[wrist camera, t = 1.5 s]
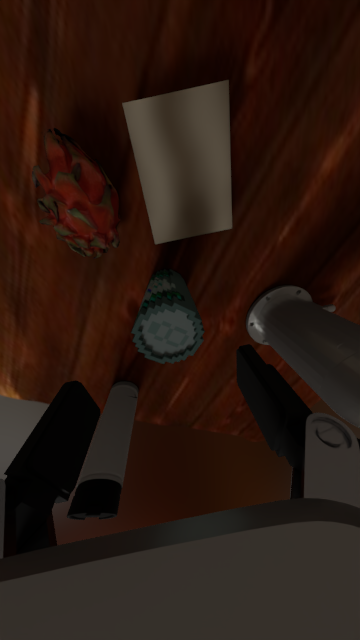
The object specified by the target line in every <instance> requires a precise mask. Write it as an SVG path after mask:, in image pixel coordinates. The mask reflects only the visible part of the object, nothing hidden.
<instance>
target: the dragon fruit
mask: <svg viewBox="0 0 360 640" xmlns="http://www.w3.org/2000/svg"><path fill="white" fill-rule="evenodd" d="M47 130H49V131H48V132H47V133H46V134H45V136H44V143H45V147H46V152H47V160H48V162H49V168H50V170H49V172H48V173H47V174H43V173H42V171H41V169H40V167H39V165H38V166H34V167H33V172H32V178H33V182H34V184H35V187H36V188H37V187H38V186H39V185H41V186H42V187H43V188H44V190H45V192H46V196H44V197H43V199H42V198H40V199H37V202H38V203H39V207H40V209H41V210H42V211H43V212H47V213H50V215H49V216H47V217H46V218H44V219H42V220H40V221H39V222H40V223H41V224H46V225H53V227H54V229H55V230H56V233H57V239H59V240H62V241H66V242H67V244H68V246H69V247H70V248H71V249H72V250H74V251H76V252H78V253H80V254H81V255H82V256H84V257H85V256H88V257H89V256H92V255H93V252H94V251H95V252H96V253H97V256H96V257H94V258H98V257H100V256H101V255H102V253H107V251H108V249H109V243H110V242H111V241H112V242H111V243H112V245H113V247H115V248H117V247H118V245H119V243H120V240H119V233H118V232H117V231H116V226H117V224H118V222H119V221H121V217H120V215H119V213H118V210H119V197H118V193H117V191H116V189H115V188H114V187H113V185H112V183H111V182H110V180H109V179H108V177H107V175H106V174H105V172H104V170H103V168H102V166H101V165H100V163H99V162H98V161H97V160H95V161H96V162H95V161H94V160H92V159H91V158H90V157H89V156H88V155H87V154H86V153H85V152H84V151H83V150H82V149H81V147H80V146H79V145H78V144H77V143H76V142H75V141H74V140H73V139H72V138H71V137H69V136H67V135H66V134H62V133H61V132H60V131H59V130H58V129H56V128H54V131H55V134H56V135H59V136H60V137H61V139H62V140H63V142H62V143H63V145H59V140H58V139H56V137H55V136H54V135H53V134H52V131H51V129H47ZM85 253H86V255H85ZM94 258H93V259H94Z"/></svg>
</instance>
